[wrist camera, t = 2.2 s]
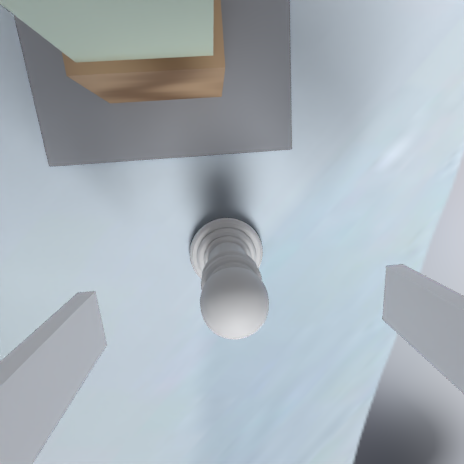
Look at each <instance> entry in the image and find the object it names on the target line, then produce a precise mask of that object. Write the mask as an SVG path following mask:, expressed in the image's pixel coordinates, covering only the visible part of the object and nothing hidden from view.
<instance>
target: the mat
mask: <svg viewBox="0 0 464 464" xmlns="http://www.w3.org/2000/svg"><path fill="white" fill-rule="evenodd" d="M221 12H222V26H223V41H224V55H225V74H224V82H223V90H222V97H210V98H193V99H176V100H159V101H142V102H125V103H109V102H107V101H105V100H104V99H102V98H101V97H99V96H97V95H96V94H94V93H93V92H91V91H90V90H88V89H86V88H85V87H83V86H82V85H80V84H79V83H77V82H75V81H74V80H72V79H71V78H69V77H67V76H66V71H65V66H64V61H63V56H62V51H60V50H59V49H58V48H56V47H55V46H54V45H52V44H51V43H50V42H49V41H47V40H46V39H45V38H43V37H42V36H41V35H40V34H38V33H37V32H36V31H34V30H33V29H32V28H31V27H29V26H28V25H27V24H25V23H24V22H23V21H21V20H20V19H19V18H18V17H16V16H15V15H14V18H15V22H16V26H17V31H18V35H19V39H20V44H21V48H22V52H23V56H24V61H25V65H26V69H27V74H28V78H29V82H30V86H31V91H32V95H33V99H34V104H35V108H36V112H37V117H38V121H39V125H40V129H41V134H42V138H43V142H44V147H45V151H46V155H47V159H48V164H49V166H65V165H79V164H93V163H107V162H121V161H135V160H149V159H163V158H178V157H192V156H206V155H220V154H234V153H248V152H262V151H276V150H290V149H292V127H291V63H290V0H221Z"/></svg>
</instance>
